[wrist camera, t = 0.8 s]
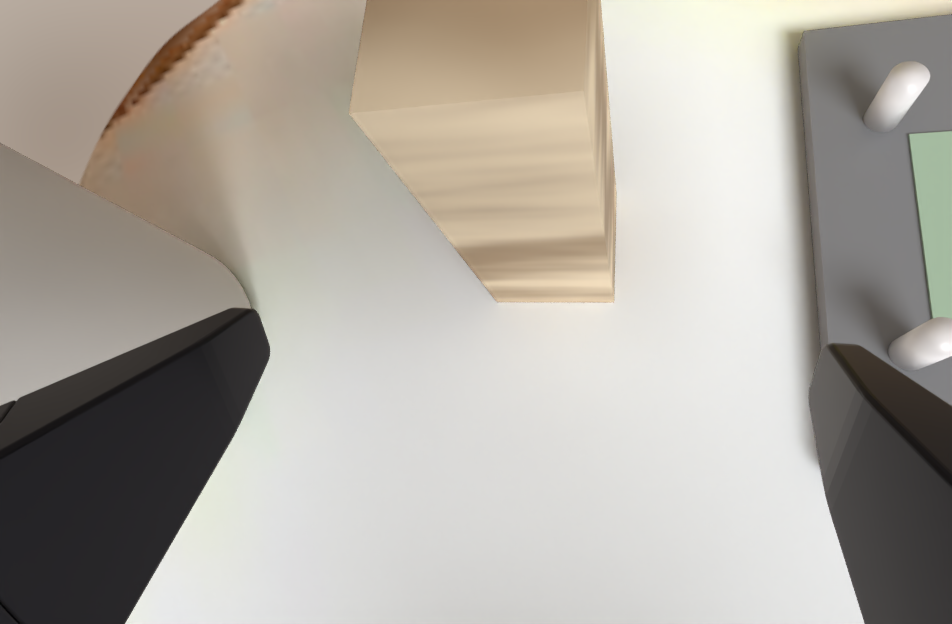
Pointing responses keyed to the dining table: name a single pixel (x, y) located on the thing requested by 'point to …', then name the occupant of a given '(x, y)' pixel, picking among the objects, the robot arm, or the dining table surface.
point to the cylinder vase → (89, 279)
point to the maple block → (499, 135)
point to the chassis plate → (883, 190)
